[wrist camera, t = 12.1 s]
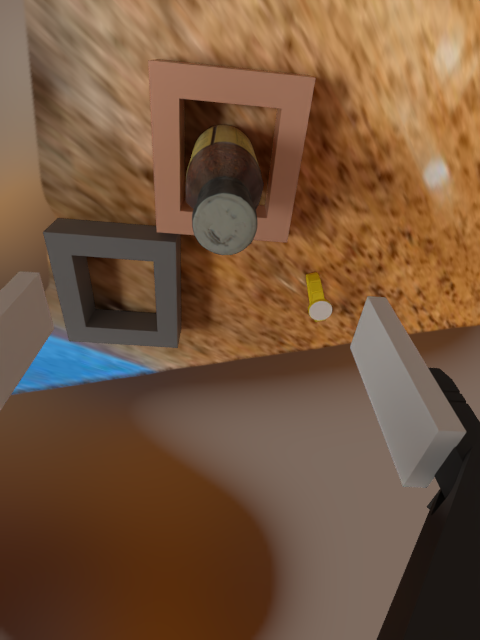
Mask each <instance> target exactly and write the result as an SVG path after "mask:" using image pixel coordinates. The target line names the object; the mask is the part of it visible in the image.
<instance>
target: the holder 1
mask: <svg viewBox="0 0 480 640" xmlns="http://www.w3.org/2000/svg"><path fill="white" fill-rule="evenodd" d="M43 234H44V238H45V242H46V247H47V251H48V255H49V259H50V263H51V267H52V272H53V276H54V280H55V284H56V288H57V292H58V297H59V301H60V305H61V309H62V313H63V317H64V322H65V326H66V330H67V334H68V338H69V341H76V342H92V343H108V344H124V345H140V346H156V347H172V348H178V343H179V338H180V333H181V239H180V234H174V233H161V232H157V228H156V226H149V225H137V224H125V223H112V222H100V221H87V220H75V219H62V218H57V219H56V220H55V221H54V222H53V223H52V224H51V225H50V226H49V227H48V228H47V229H46V230H45V231H44V232H43ZM86 256H89V257H102V258H115V259H129V260H142V261H154V277H155V295H156V313H145V312H131V311H116V310H101V309H95V303H94V297H93V291H92V286H91V280H90V274H89V268H88V263H87V257H86Z"/></svg>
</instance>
